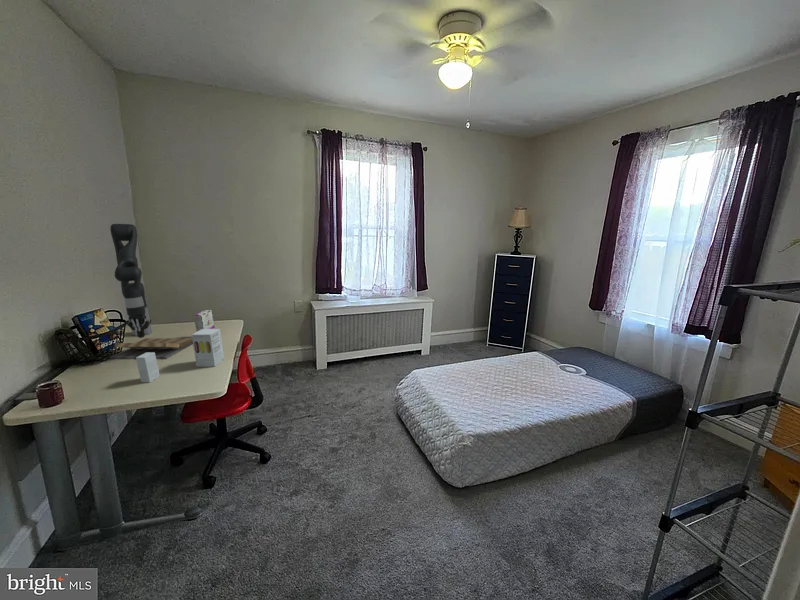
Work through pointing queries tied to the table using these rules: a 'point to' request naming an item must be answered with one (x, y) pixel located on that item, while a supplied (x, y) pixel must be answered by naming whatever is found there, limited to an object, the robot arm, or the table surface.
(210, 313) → the candy bar box
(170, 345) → the oak plank
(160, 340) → the floor section
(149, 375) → the skincare box
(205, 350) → the supplement box
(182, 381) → the table surface
